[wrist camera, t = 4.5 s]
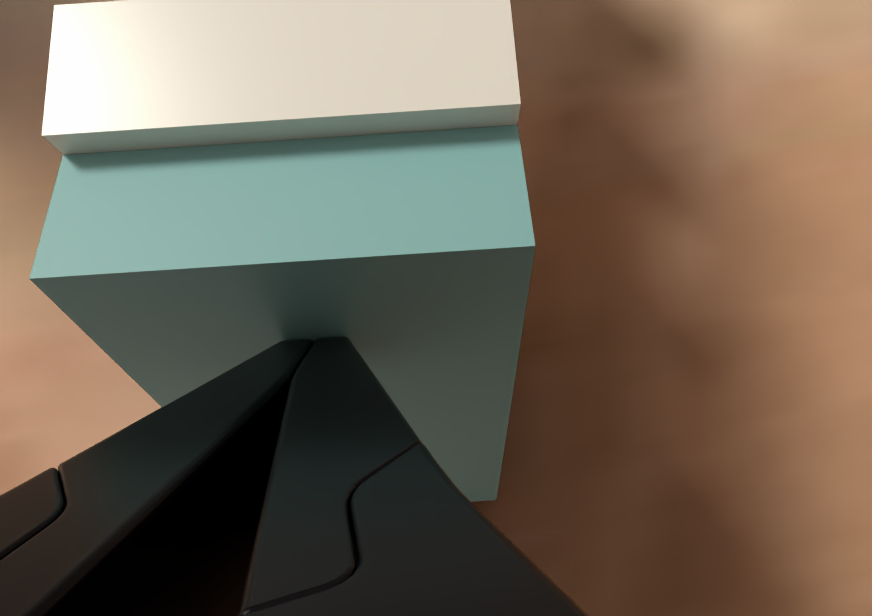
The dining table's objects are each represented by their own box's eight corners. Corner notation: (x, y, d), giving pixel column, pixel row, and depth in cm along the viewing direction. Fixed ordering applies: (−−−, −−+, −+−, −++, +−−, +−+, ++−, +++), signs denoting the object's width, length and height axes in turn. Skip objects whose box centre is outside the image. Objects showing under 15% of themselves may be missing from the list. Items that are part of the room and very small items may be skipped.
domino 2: (496, 500, 16) (534, 245, 7) (272, 514, 16) (28, 278, 7) (489, 431, 16) (517, 124, 8) (276, 444, 16) (62, 155, 8)
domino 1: (482, 328, 17) (520, 103, 7) (275, 341, 17) (41, 136, 7) (476, 265, 17) (507, -26, 8) (275, 278, 17) (54, 4, 8)
